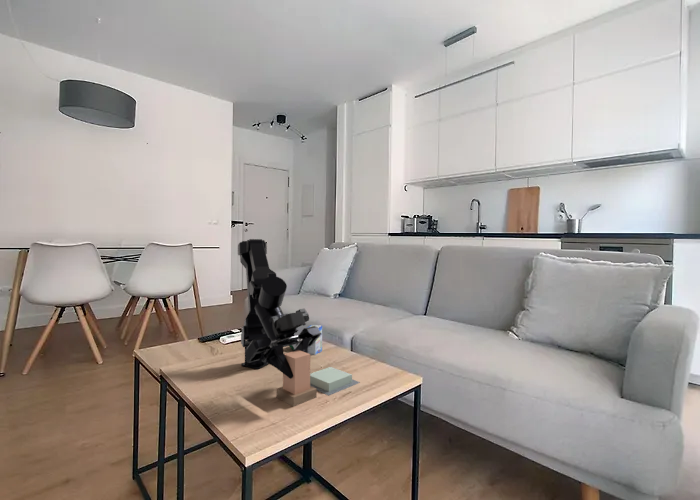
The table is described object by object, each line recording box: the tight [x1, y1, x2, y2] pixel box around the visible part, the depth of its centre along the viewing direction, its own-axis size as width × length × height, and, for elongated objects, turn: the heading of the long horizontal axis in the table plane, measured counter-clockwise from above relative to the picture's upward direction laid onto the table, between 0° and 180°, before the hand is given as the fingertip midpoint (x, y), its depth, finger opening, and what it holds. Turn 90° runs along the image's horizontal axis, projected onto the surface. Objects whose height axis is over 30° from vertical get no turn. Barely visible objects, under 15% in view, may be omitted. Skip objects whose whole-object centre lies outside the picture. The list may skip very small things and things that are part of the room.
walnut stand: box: [275, 386, 318, 407], centre depth 82 cm, size 6×6×3 cm
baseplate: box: [310, 378, 361, 397], centre depth 91 cm, size 11×11×1 cm
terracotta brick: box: [282, 350, 311, 394], centre depth 82 cm, size 4×4×8 cm
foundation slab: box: [310, 366, 353, 392], centre depth 91 cm, size 8×8×2 cm
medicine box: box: [306, 324, 323, 356], centre depth 117 cm, size 8×4×9 cm, turn 168°
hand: (300, 374), depth 81 cm, fingers closed on terracotta brick, 4 cm apart
